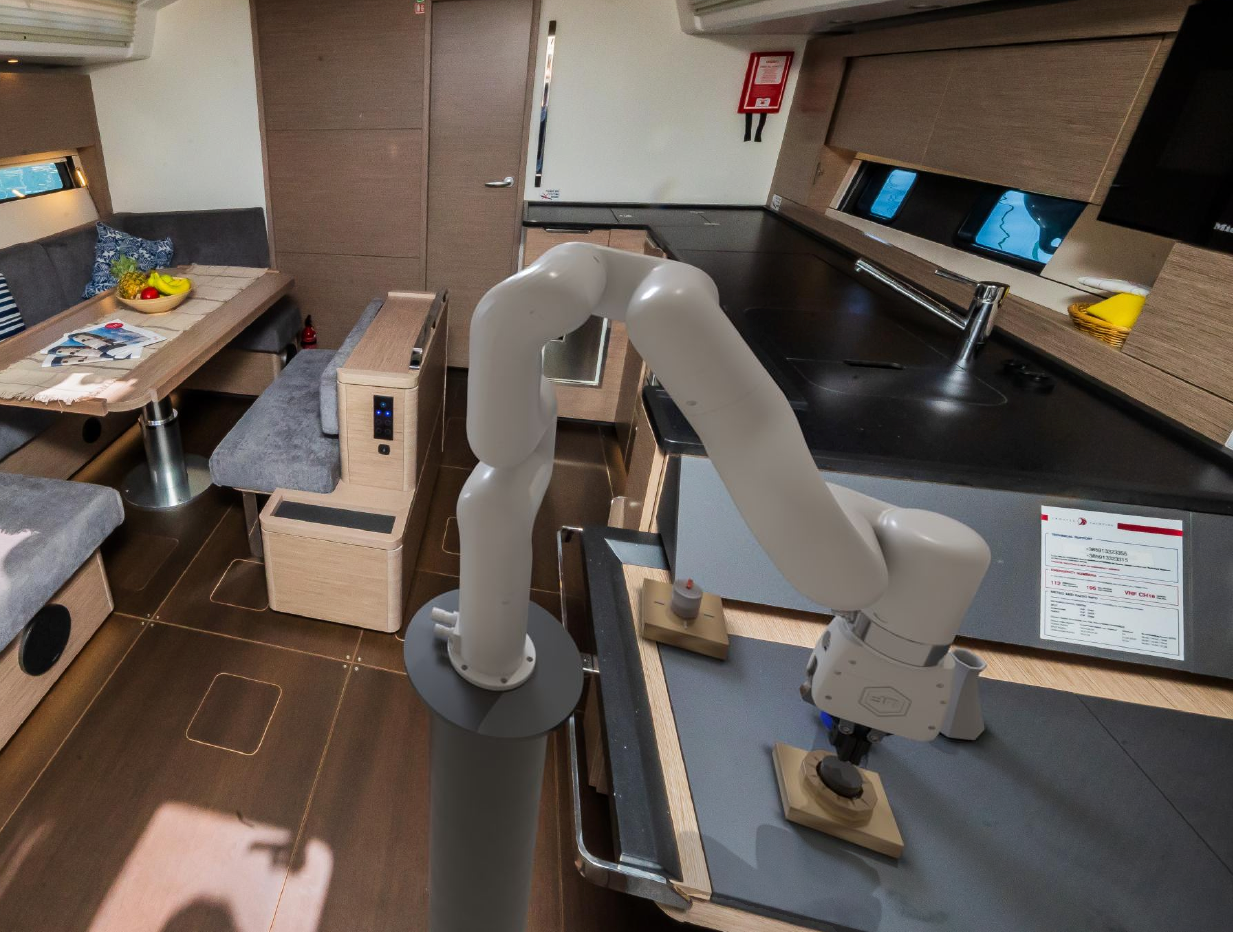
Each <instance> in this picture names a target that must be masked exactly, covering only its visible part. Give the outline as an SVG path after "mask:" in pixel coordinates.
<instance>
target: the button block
mask: <svg viewBox="0 0 1233 932" xmlns="http://www.w3.org/2000/svg"><path fill="white" fill-rule="evenodd" d="M771 754H772V759H773V763H774V769H775V774H776V778H777V783H778V787H779V792H780V797H781V803H782V807H783V811H784V816H785V819H786V820H788V821H791V822H793V823H796V824H799V825H802V826H805V827H808V828H811V829H814V830H817V831H819V832H822V833H824V834H827V835H830V836H833V837H835V838H839V839H841V840H844V841H847V842H850V843H852V844H856V845H858V846H860V847H864V848H866V849H869V850H873V851H874V852H878V853H881V854H883V855H886V856H889V857H891V858H895V859H897V860H898V859H899V858H900V856H901V855H902V853H903V850H904V849H905V844H904V841H903V838H902V835H901V833H900V830H899V827H898V825H897V822H896V819H895V816H894V814H893V811H892V807H891V805H890V802H889V800H888V797H887V794H886V791H885V789H884V786H883V784H882V780H881V778H880V775H879V773H878V772H875V771H871V770H868V769H865V768H862V767H859V766H855V765H853V766H854V767H855V768H856V769H857V770H858V771H859V772H860V774H861V776H862V779H863V784H862V787H861V789H860V792H859V794H858V796H857V797H855V798H845V797H842V796H839V795H837V794H836V793H834V792H833V791H831V790H830V789H829V788H827V787H826V786H825V784H824V783H823V782H822V780H821V779H820V776H819V768H820V765H821V762H822V760H823V758H824V757H825V756H828V755H834V756H837V753H834V752H831V751H829V750H828V751H827V750H824V749H818V750H812V751H808V750H805V749H803V748H802V749H801V748H798V747H795V746H792V745H789V744H786V743H782V742H779V741H775V742H774V746H773V749H772V753H771ZM848 762H849V761H848Z"/></svg>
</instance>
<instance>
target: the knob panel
mask: <svg viewBox="0 0 1233 932" xmlns="http://www.w3.org/2000/svg"><path fill="white" fill-rule="evenodd" d="M672 587H673V583H668V582H664V581H660V580H655V579H651V578H647V577H643V580H642V587H641V634H642V635H641V637H642V638H643V639H647V640H651V641H655V642H658V643H661V644H666V645H670V646H673V647H677V648H680V649H684V650H688V651H691V652H694V653H698V654H701V655H706V656H710V657H713V658H716V659H720V660H724V661H726V660H727V655H728V651H729V648H730V641H729V635H728V630H727V624H726V623H727V622H726V617H725V613H724V608H723V601H722V597H721V595H717V594H713V593H709V592H705V591H703V596H702V601H701V605H700V610H699V614H698V616H697V617H696V618H693V619H687V618H683V617H680V616H678V615H677V614H675V613H674V612H673V611H672V610H671V608H670V606H669V603H670V598H671V593H672Z"/></svg>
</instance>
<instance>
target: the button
mask: <svg viewBox="0 0 1233 932" xmlns="http://www.w3.org/2000/svg"><path fill="white" fill-rule="evenodd" d="M819 776H820V779H821V780H822V782H823V783H824V784H825V786H826V787H827V788H829V789H830V790H831V791H833V792H834V793H836V794H837V795H839V796H842V797H845V798H855V797H857V796H858V794H859V792H860V789H861V787H862V784H863V779H862V776H861V774H860V772H859V771H858V770H857V769H856V768H855V767H854V766H853V765H852V764H851V763H850V762H847V761H846V762H843V761H840V760H839V759H838V756H834V755H828V756H825V757H824V758H823V760H822V762H821V765H820V768H819Z"/></svg>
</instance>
